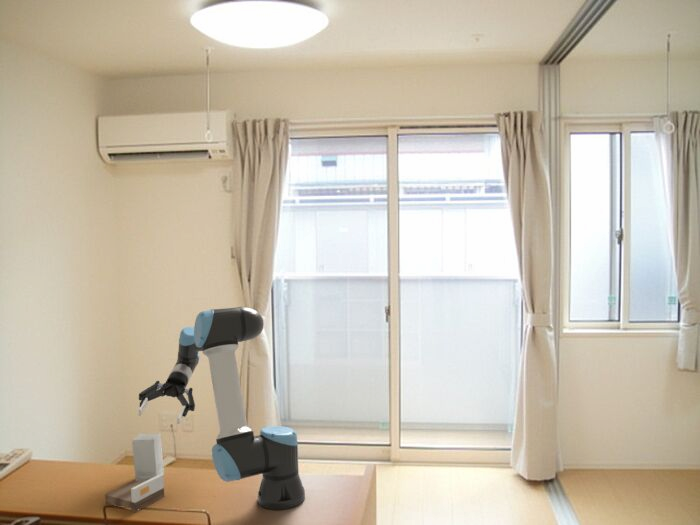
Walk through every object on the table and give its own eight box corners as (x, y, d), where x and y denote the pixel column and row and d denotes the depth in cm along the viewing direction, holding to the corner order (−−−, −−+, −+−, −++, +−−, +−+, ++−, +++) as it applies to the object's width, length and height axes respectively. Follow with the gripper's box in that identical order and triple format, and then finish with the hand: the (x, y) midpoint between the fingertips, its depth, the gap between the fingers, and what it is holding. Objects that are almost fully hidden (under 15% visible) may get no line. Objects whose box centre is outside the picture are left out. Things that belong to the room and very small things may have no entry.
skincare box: (164, 475, 212) (162, 432, 211) (156, 482, 206) (154, 439, 205) (142, 474, 213) (139, 432, 212) (133, 482, 207) (131, 439, 206)
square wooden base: (165, 496, 194) (163, 474, 194) (136, 512, 184) (134, 489, 184) (135, 488, 201) (134, 467, 201) (105, 503, 191) (104, 481, 191)
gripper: (210, 393, 224) (193, 432, 205) (145, 379, 223) (123, 417, 205) (212, 377, 221) (195, 416, 202) (146, 364, 220) (123, 401, 201)
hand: (159, 417), depth 203 cm, fingers open, 13 cm apart
